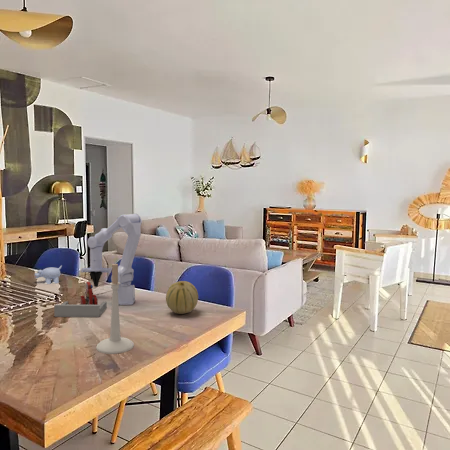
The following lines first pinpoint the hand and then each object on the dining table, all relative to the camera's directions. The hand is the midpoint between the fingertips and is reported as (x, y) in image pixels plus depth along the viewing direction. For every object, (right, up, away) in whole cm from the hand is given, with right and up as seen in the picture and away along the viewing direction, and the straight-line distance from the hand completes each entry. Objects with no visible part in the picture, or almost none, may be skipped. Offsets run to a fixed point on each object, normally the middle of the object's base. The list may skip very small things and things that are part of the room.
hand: (96, 286), depth 208 cm
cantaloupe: (+46, -9, -22) cm, 52 cm away
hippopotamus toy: (-38, -3, +33) cm, 51 cm away
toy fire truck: (+1, -7, -12) cm, 14 cm away
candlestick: (+27, -12, -63) cm, 70 cm away
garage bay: (+1, -8, -24) cm, 26 cm away
